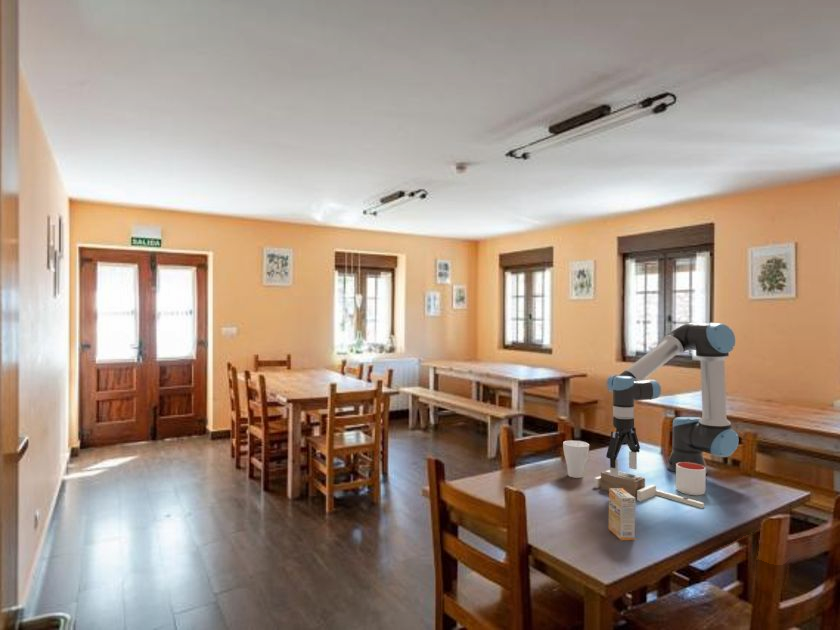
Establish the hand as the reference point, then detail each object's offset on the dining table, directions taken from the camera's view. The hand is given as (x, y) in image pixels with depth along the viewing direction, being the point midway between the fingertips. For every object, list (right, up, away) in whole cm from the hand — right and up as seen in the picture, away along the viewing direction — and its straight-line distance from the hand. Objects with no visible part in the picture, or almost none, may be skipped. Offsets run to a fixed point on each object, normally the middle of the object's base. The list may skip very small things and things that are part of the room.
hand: (623, 472), depth 196 cm
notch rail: (+7, -7, -4) cm, 11 cm away
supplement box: (-16, -8, -38) cm, 42 cm away
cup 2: (+26, -8, +1) cm, 27 cm away
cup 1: (-13, -7, +18) cm, 23 cm away
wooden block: (-1, -8, 0) cm, 8 cm away
